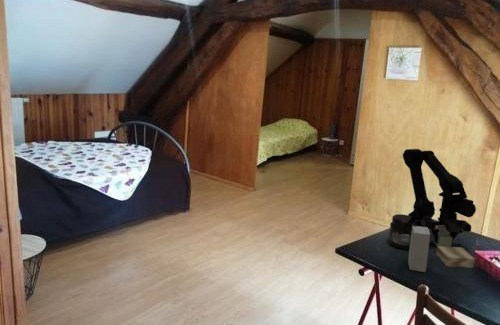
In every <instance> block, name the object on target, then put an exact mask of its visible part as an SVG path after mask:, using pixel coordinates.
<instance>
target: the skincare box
mask: <svg viewBox="0 0 500 325" xmlns="http://www.w3.org/2000/svg"><path fill="white" fill-rule="evenodd" d="M430 232H431V231H430V229H428V227H420V226H412V232H411V241H410V248H409V249H408V250H409V251H408V258H407V264H408V268H409V270H411V271H416V272H421V273H426V272H427V264H428V263H427V262H428V257H429V256H428V255H429V248H430V240H431V233H430Z"/></svg>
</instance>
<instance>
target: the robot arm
mask: <svg viewBox="0 0 500 325" xmlns="http://www.w3.org/2000/svg"><path fill="white" fill-rule="evenodd" d="M402 158H403V161H404V165H406V166H407V168H408V169H409V173H410V178H411V182H412V183H411V184H412V188H413V193H414V197H415V198H414V199H415V201H414V204H413V205H412V206H413V211H411V212H410V213H408V216H411V217H414V218H415V219H416V220H417V223H416V226H420V227H428V229H429V230H430V232H431V233H432V238H433V241H434V242H435V243H437V238H438V232H440V229H439V227H444V228H445V230H446V232H447V233H449V235H450V236H451V237H452V242H454V240H455V239H456V237H457V236H458V235H459V234H461V233H462V234H463V233H464V232H471V231H472V225H471V223H469V222H467V221H466V220H464V219H463V220H462V219H458V214H459V215H461V216H464V217H465V218H472V217H473V216H474V215H475V214H476V211H477V208H476V205H475V204H474V200H473V199H469V198H468V195H467V192H466V191H465V188H464V184H463V181H461V180H460V178H458V177H457V176H455V175H454V174H452V173H450V171H448V170H447V169H446V167H445V166H444V165H443V164H442V162H441V161H440V159H438V158H437V156H436V154H435V152H434V151H432V150H421V149H420V148H411V149H410V148H407V149H405V150H404V151H403V153H402ZM423 163H425V164H426V165H427V167H428V168H429V169H430V171H431V172H432V173H433V175H435V177H436V178H437V180H438V186H439V187H440V189H441V190H442V191H441V192H440V193H438V196H440V197H442V200H441V207H440V208H438V211H439V217H437V220H438V221H434V219H433V217H434V215H435V213H436V208H435V203H434V201H431V200H430V199H429V197H428V195H427V194H428V193H427V189H426V185H425V180H424V174H423V171H422V166H423ZM434 242H433V243H434ZM435 243H434V244H435Z"/></svg>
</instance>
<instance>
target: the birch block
mask: <svg viewBox="0 0 500 325" xmlns="http://www.w3.org/2000/svg"><path fill="white" fill-rule="evenodd" d="M435 250H436V252H435V255H436V256H437V258H438V259H440V261H441V262H442V263H443V264H444V265H445V266H446V267H450V268H451V267H455V268H470V269H473V268H474V266H475V261H476V258H474V257H473V256H472V255H471V254H470V253H469V252H468V251H467V250H466V249H465V248H464V247H460V246H451V247H445V246H436V249H435Z"/></svg>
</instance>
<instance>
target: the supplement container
mask: <svg viewBox="0 0 500 325" xmlns="http://www.w3.org/2000/svg"><path fill="white" fill-rule="evenodd" d="M391 220H392V221H391V222H390V224H389V227H390V228H389V232H388V239H387V240H388V243H389V245H391V246H392V247H394V248H396V249H399V250H400V249H401V250H409V248H410V241H411V232H412V226H416V223H417V220H416V219H415V218H414V217H411V216H408V215H407V214H401V213H398V214H394V215H393V216H392V219H391Z"/></svg>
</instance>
